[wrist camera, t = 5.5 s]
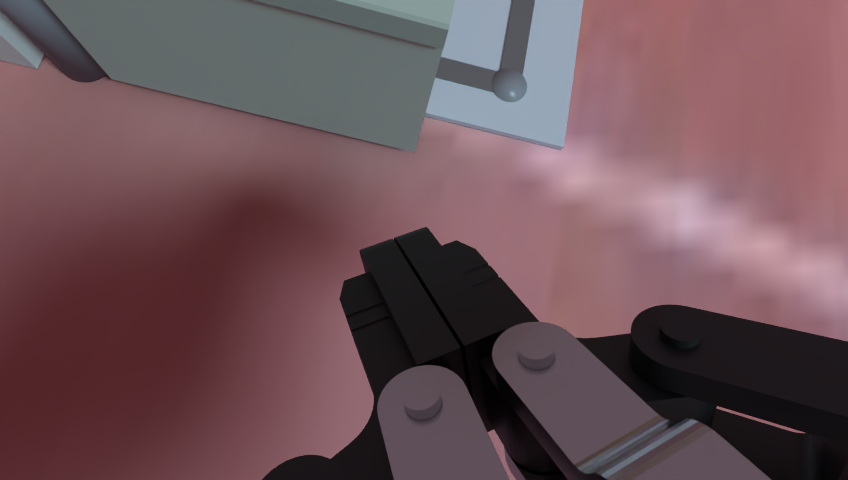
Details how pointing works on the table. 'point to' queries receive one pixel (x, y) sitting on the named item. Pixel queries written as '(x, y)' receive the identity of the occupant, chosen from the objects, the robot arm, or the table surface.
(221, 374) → the table surface
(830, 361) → the robot arm
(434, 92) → the card
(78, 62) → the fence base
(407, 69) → the swing panel
